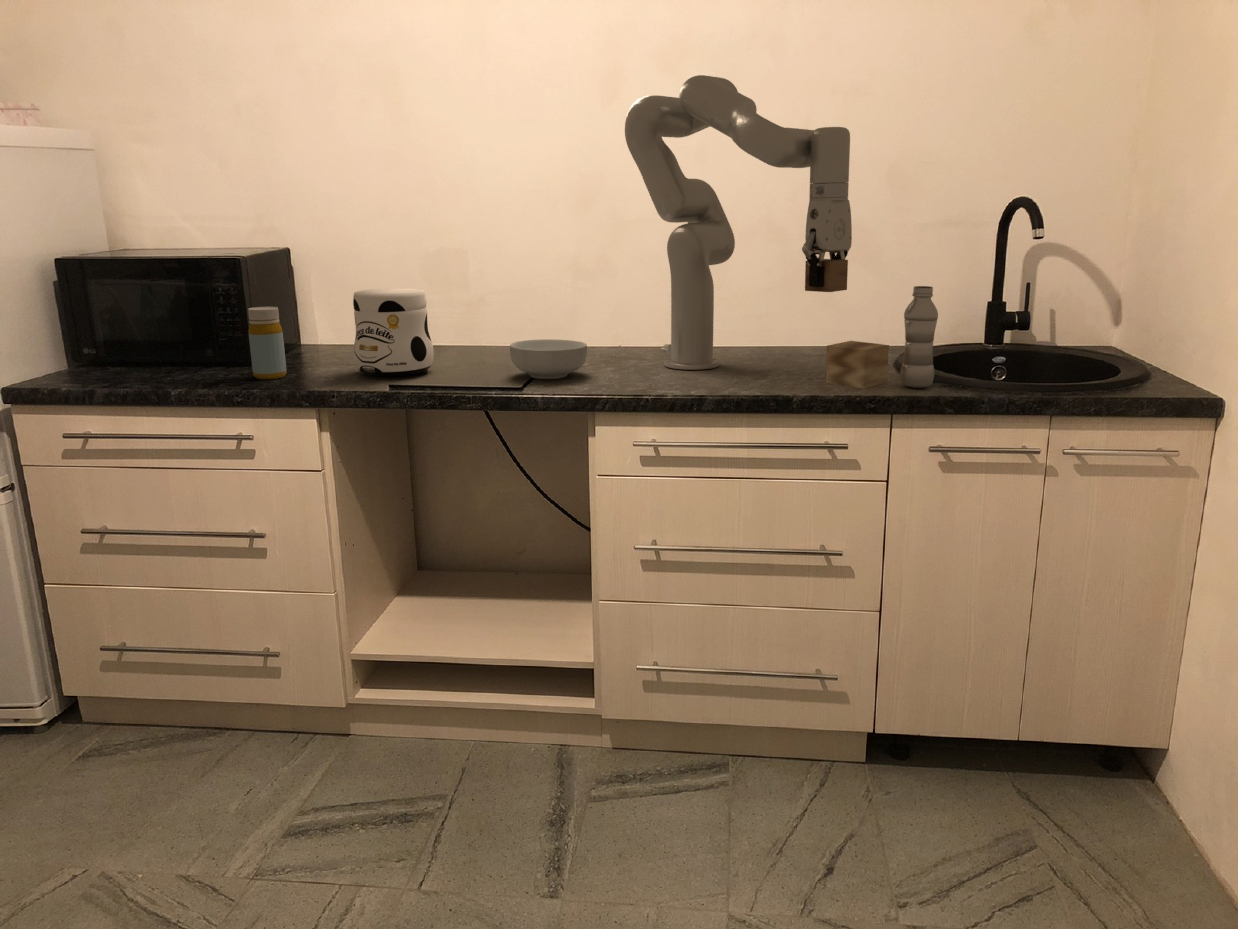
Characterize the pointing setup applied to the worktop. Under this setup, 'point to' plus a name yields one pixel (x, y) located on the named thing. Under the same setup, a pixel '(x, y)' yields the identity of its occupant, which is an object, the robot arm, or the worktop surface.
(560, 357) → the cereal bowl
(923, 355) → the plastic bottle
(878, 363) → the tower top
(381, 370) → the doce de leite jar
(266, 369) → the bottle
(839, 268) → the walnut cube
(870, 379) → the tower base
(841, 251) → the robot arm
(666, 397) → the worktop surface
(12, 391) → the worktop surface
